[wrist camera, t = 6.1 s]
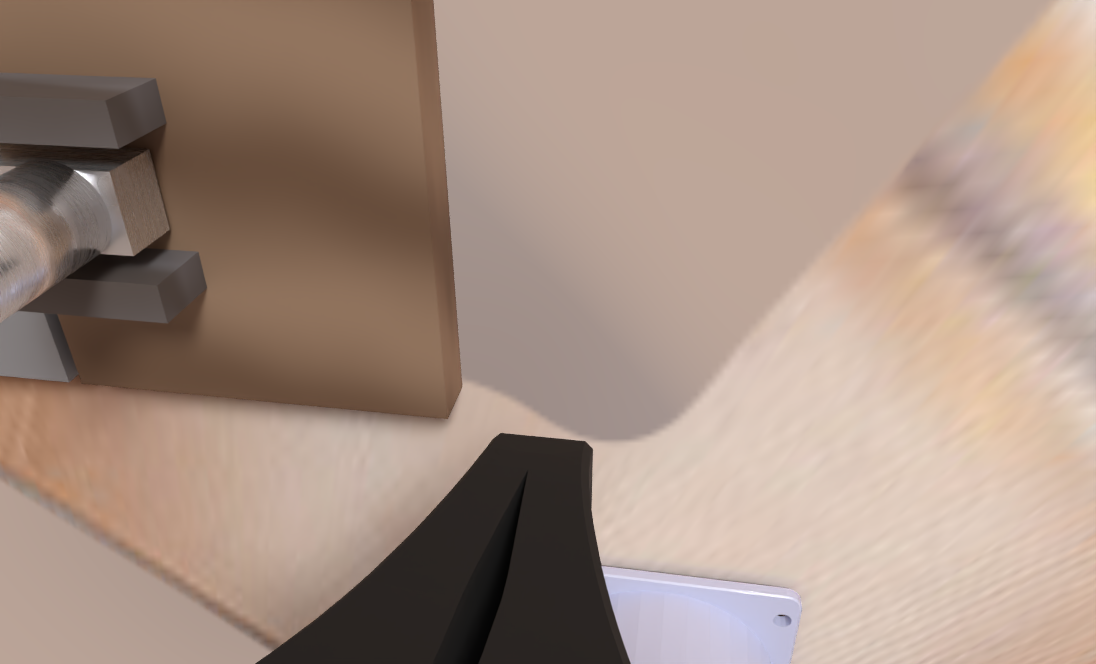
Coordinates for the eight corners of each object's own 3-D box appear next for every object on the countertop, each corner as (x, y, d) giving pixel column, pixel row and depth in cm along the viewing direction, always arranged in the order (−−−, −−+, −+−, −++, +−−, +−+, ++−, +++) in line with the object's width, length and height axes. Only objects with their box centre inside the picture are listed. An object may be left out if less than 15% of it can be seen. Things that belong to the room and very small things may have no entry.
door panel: (462, 386, 23) (427, 462, 20) (114, 355, 25) (38, 421, 22) (426, -101, 17) (369, -87, 14) (-35, -101, 19) (-167, -89, 16)
